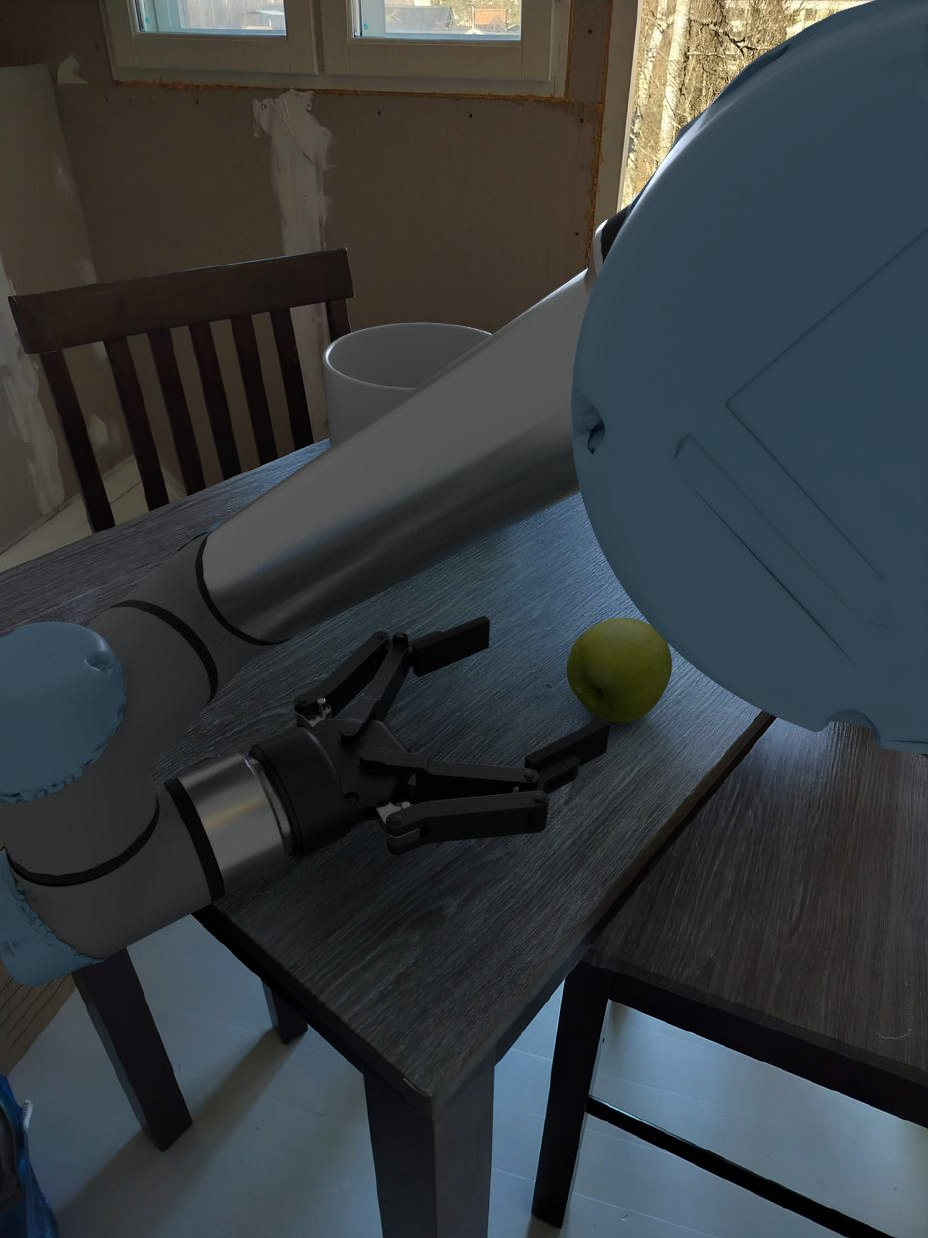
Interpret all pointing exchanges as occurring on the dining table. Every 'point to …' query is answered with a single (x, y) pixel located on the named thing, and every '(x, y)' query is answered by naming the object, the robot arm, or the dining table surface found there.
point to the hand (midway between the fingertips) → (541, 679)
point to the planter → (386, 368)
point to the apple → (619, 669)
